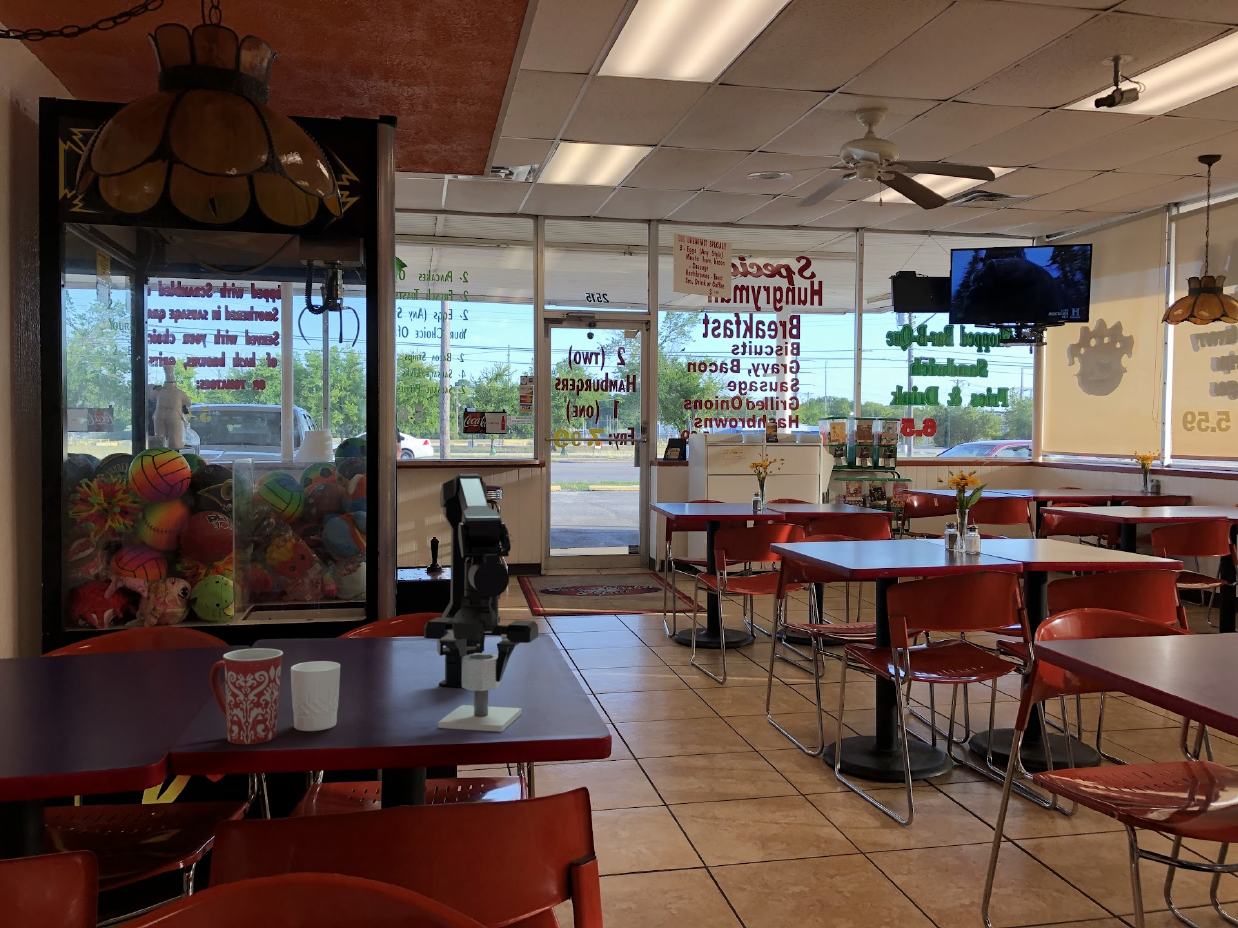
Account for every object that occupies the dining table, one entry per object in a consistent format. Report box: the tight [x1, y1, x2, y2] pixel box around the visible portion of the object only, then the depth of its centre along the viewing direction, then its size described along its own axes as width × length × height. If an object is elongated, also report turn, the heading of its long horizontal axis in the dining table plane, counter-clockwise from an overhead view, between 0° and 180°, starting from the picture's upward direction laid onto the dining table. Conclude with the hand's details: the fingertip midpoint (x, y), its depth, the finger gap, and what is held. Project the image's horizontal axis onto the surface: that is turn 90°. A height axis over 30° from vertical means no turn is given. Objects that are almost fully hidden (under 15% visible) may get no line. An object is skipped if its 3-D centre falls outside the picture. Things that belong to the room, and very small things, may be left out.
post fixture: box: [437, 690, 522, 733], centre depth 161 cm, size 11×11×6 cm
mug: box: [209, 647, 284, 745], centre depth 151 cm, size 13×9×14 cm
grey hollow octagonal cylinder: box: [461, 652, 501, 692], centre depth 161 cm, size 6×6×5 cm
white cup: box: [290, 660, 341, 732], centre depth 157 cm, size 8×8×10 cm
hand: (481, 680), depth 161 cm, fingers closed on grey hollow octagonal cylinder, 6 cm apart
